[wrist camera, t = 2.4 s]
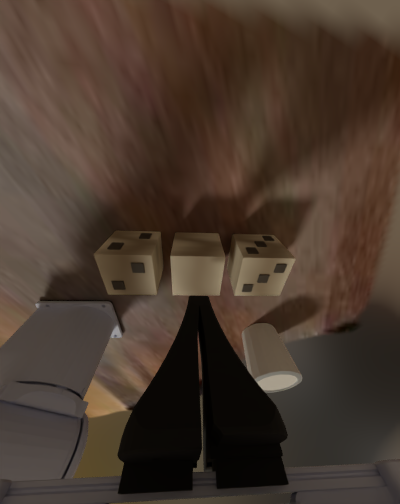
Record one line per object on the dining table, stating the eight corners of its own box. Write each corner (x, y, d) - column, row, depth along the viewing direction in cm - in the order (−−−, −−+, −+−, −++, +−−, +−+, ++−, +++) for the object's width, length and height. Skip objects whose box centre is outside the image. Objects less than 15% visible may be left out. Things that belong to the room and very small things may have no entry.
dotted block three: (226, 267, 20) (234, 296, 16) (232, 232, 17) (243, 257, 13) (263, 267, 20) (279, 296, 16) (274, 233, 17) (297, 258, 14)
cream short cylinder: (250, 317, 25) (268, 369, 19) (287, 324, 26) (314, 375, 21) (231, 340, 28) (241, 391, 23) (264, 346, 30) (282, 395, 24)
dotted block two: (124, 265, 19) (107, 295, 15) (115, 228, 17) (92, 253, 13) (163, 266, 19) (156, 295, 15) (160, 230, 17) (151, 254, 13)
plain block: (176, 266, 19) (172, 295, 16) (175, 231, 17) (170, 255, 13) (214, 266, 20) (219, 295, 16) (218, 232, 17) (225, 256, 13)
